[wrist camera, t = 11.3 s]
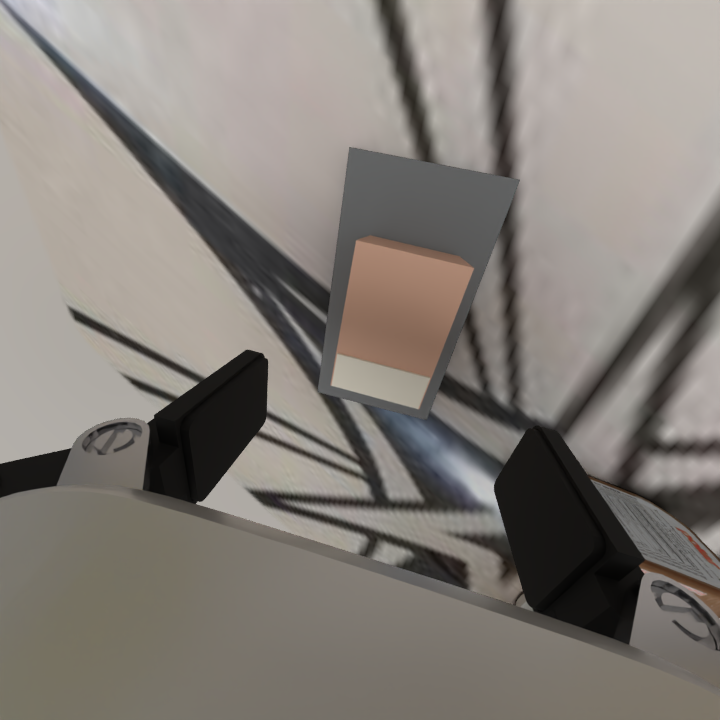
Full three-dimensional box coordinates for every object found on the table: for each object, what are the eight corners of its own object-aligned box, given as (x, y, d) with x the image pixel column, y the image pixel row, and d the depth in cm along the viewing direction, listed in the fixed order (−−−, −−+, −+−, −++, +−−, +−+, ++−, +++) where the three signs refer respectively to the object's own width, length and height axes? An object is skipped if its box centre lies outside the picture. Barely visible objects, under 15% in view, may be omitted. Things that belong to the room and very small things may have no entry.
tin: (502, 465, 26) (537, 564, 18) (522, 443, 24) (569, 540, 17) (651, 523, 26) (746, 644, 18) (680, 504, 24) (797, 628, 17)
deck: (459, 256, 18) (474, 268, 13) (418, 371, 22) (419, 410, 18) (370, 235, 18) (355, 240, 14) (346, 353, 22) (329, 386, 18)
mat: (426, 415, 25) (426, 420, 24) (319, 388, 25) (317, 392, 25) (516, 181, 16) (519, 179, 16) (351, 149, 17) (349, 147, 16)
